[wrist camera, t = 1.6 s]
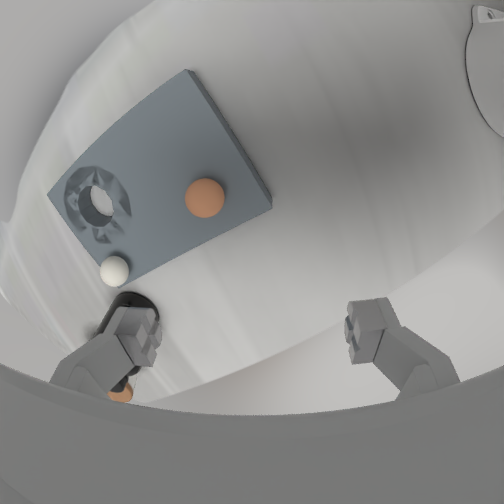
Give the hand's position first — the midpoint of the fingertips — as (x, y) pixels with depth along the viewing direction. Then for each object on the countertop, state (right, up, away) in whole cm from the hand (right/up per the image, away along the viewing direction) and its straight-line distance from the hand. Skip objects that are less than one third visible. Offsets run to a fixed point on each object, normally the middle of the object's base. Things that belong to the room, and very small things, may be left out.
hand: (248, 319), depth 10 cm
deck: (-10, +9, +16) cm, 21 cm away
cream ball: (-14, 0, +16) cm, 22 cm away
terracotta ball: (-4, +7, +12) cm, 14 cm away
